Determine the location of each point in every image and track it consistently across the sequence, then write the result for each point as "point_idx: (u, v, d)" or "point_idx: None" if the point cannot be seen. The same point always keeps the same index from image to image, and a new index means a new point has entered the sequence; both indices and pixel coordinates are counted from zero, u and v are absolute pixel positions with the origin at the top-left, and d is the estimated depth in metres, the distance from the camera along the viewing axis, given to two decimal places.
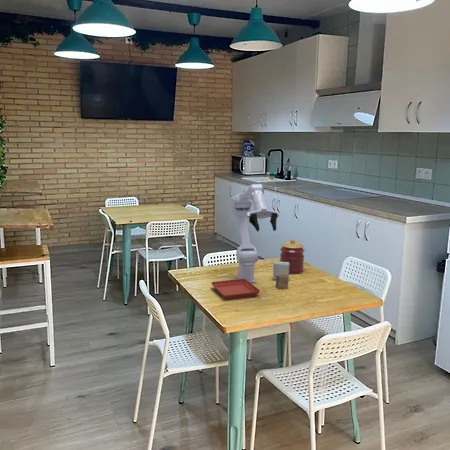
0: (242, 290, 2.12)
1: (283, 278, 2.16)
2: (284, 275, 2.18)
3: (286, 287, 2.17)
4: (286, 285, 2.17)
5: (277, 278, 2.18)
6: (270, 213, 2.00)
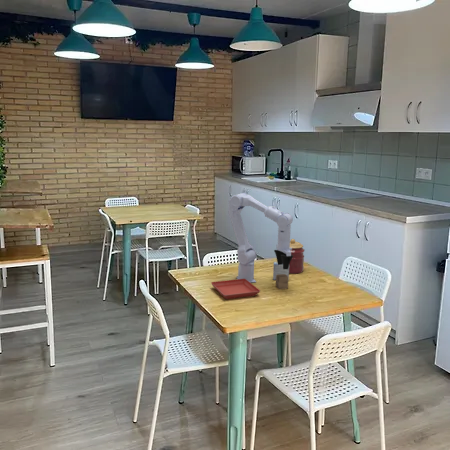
0: (242, 290, 2.12)
1: (283, 278, 2.16)
2: (284, 275, 2.18)
3: (286, 287, 2.17)
4: (286, 285, 2.17)
5: (277, 278, 2.18)
6: None
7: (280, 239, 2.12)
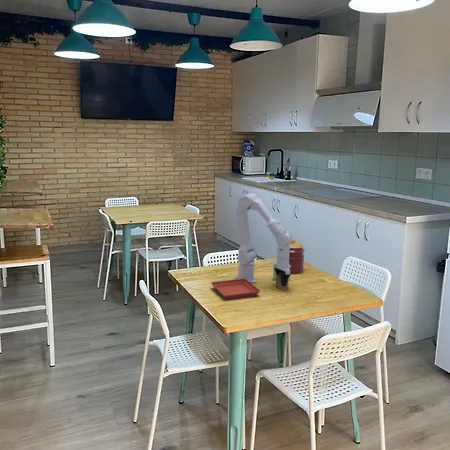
0: (242, 290, 2.12)
1: None
2: None
3: (286, 287, 2.17)
4: (286, 285, 2.17)
5: (277, 278, 2.18)
6: None
7: (279, 257, 2.14)
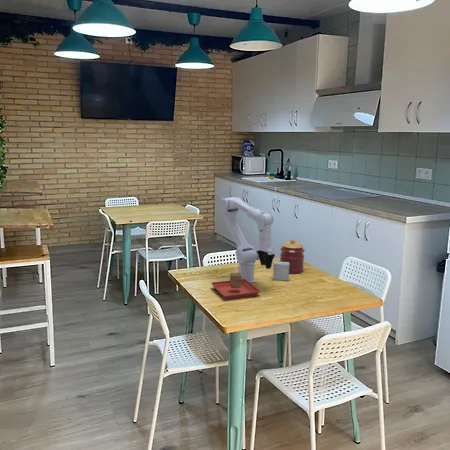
0: (242, 290, 2.12)
1: (236, 277, 2.07)
2: (238, 274, 2.10)
3: (239, 286, 2.09)
4: (239, 284, 2.08)
5: (230, 276, 2.10)
6: None
7: (260, 238, 2.13)
